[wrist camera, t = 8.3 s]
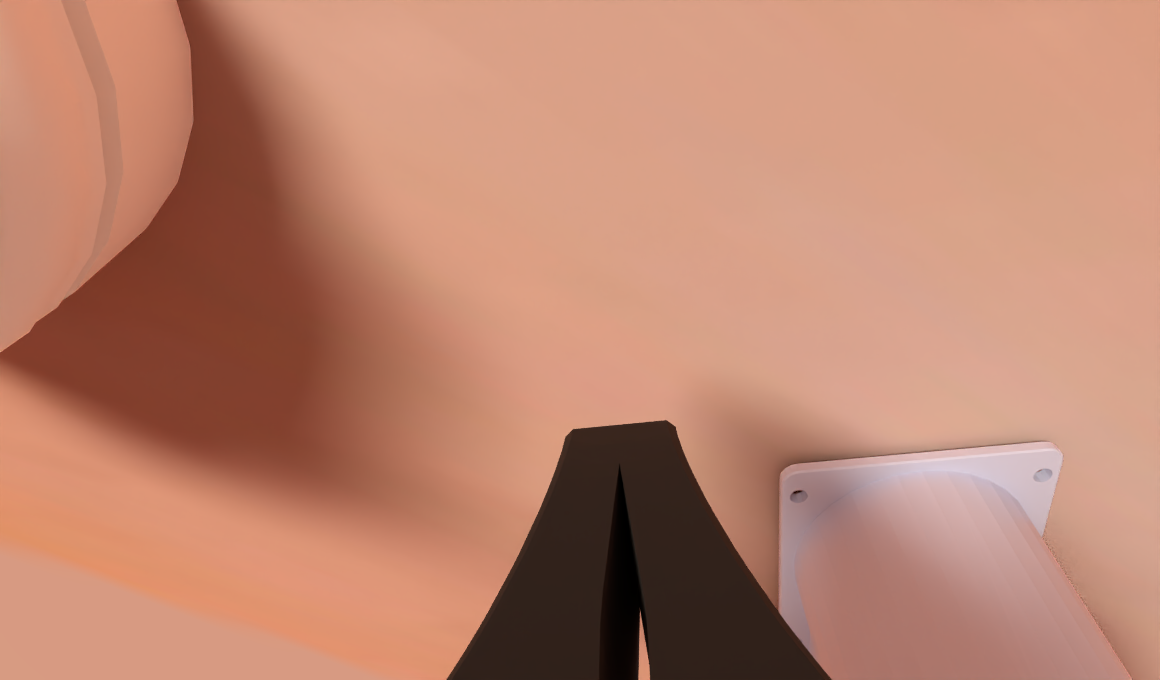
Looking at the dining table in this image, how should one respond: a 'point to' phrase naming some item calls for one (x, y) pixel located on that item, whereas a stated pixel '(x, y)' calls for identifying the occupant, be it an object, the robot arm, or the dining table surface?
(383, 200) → the dining table surface
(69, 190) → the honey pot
